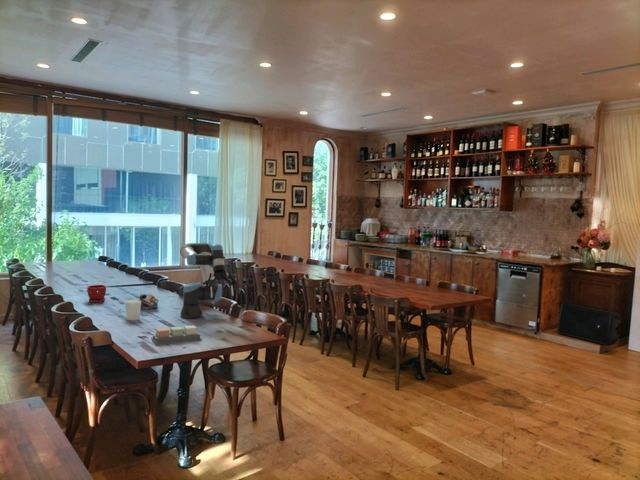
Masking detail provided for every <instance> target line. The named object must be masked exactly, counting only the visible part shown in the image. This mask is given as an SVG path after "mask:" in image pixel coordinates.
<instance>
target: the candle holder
mask: <svg viewBox="0 0 640 480" xmlns="http://www.w3.org/2000/svg"><path fill="white" fill-rule="evenodd" d="M141 311H142V309H141V301H140V299H130V300H126V301H125V317H126V320H127V321H138V320H141Z"/></svg>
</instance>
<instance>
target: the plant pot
mask: <svg viewBox="0 0 640 480" xmlns="http://www.w3.org/2000/svg"><path fill="white" fill-rule="evenodd" d="M86 289H87V290H86V291H87V296H88V298H89V299H88V301H89V302H91V303H102V302H105V300H106V297H105V296H106V293H107V286H106V285H105V284H92V285H89V286H87V288H86Z"/></svg>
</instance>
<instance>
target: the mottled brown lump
mask: <svg viewBox="0 0 640 480" xmlns="http://www.w3.org/2000/svg"><path fill="white" fill-rule="evenodd" d="M139 300H140V301H141V310H147V309H148V310H149V309H154V308H155V309H156V308H158V303H159V299H157V298H156V296H155V295H153V294H151V293H145V294H143V293H141V294H139Z"/></svg>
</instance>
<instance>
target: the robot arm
mask: <svg viewBox="0 0 640 480" xmlns="http://www.w3.org/2000/svg"><path fill="white" fill-rule="evenodd" d="M179 253H180V256H181V257H182V258H183V259H186V263H187V265H188V266H199V267H200V273H201V276H202V277H201V278H202V283H201V282H190V283H187V284H185V285H184V286H183V302H182V304H183V305H182V307H181V311H180V316H179V317H180V318H182V319H188V320H189V319H194V320H195V319H200V318H202V317H203V309H202V307H201V302H216V301H217V302H218V301H220V300H221V298H222V295H223V285H222V284H221V283H219V282H218V281H219V280H222V281H223V280H224V281H226V282H227V283H228V284H229V285H230V291H231V292H230V293H231V296H232V297H234V293H235V292H234V291H235V286H236V285H237V282H236V280H235V279H234V277H233V276H232V274H231V271H228V272H226V265H225V258H224V248H223V246H222V245H221V244H219V243H218V244H213V245H212V244H211V243H209V242H198V243H197V242H189V243H185V244H183V246H182V247H180V249H179ZM227 276H228V277H227Z"/></svg>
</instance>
